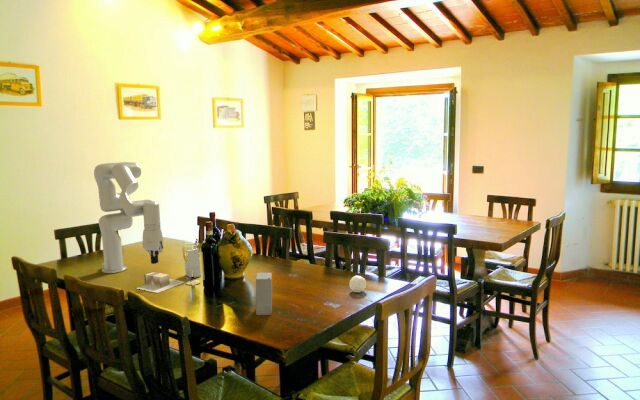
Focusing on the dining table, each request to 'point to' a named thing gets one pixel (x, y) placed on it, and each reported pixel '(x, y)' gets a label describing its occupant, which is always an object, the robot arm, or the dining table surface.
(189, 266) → the skincare box
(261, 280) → the skincare box
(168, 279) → the birch block
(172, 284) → the mat
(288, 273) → the dining table surface
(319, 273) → the dining table surface
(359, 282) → the geometric ball
